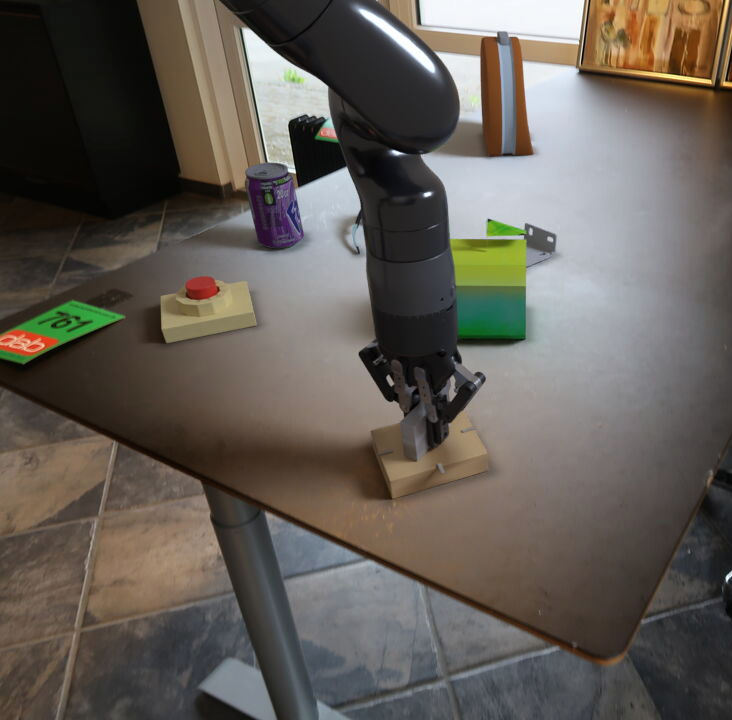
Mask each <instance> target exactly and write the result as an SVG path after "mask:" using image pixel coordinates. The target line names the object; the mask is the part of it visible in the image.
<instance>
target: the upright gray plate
mask: <svg viewBox="0 0 732 720" xmlns="http://www.w3.org/2000/svg"><path fill="white" fill-rule="evenodd" d="M426 419H427V415H426V409H425V403H422V402H420V403H419V404H418V405H417V406H416V407H415V408H414V409H413V410H412V411H411V412H410V413H409V414H408V415H407V416H406V417H405V418H404V417H403V418H402V419H401V420H399V423H400V427H401V434H402V442H403V450H404V456H405V457H407V458H410V459H412V460H415V461H418V460H419V459H420V458H421V457H422V456H423V455H424V454H425V453H426V452H427V451H428V450H429V449H430V448H431V447H430V446H428V438H427V428H426ZM449 427H450V423H449Z"/></svg>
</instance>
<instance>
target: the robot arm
mask: <svg viewBox="0 0 732 720" xmlns="http://www.w3.org/2000/svg"><path fill="white" fill-rule="evenodd" d="M218 1H219V2H220V3H221V4H222V5H223V6H224V7H225V8H226V9H227V10H229V12H230V13H232V14H233V15H234V16H235V17H236V18H237V19H238V20H239V21H240V22H242V23H243V24H244V25H245V26H246V27H247V28H248V30H250V31H251V32H253V33H254V34H255V35H256V36H257V37H258V38H259V39H260V40H261V41H262V42H264V44H265V45H267V47H269V48H270V49H271V50H272V51H274V52H275V53H276V54H277V55H278V56H279V57H281V58H283V60H285V61H287V62H288V63H290V64H291V65H293V66H294V67H297V68H298V69H300V70H302V71H304V72H306V73H308V74H310V75H311V76H312V77H315V78H316V79H317V80H319V81H320V82H322V83H323V84H324V85H325V86H327V99H328V108H329V114H330V120H331V123H332V127H333V130H334V133H335V136H336V139H337V142H338V145H339V147H340V148H339V149H340V150H341V153H342V157H343V159H344V162H345V164H346V168H347V171H348V173H349V176H350V178H351V180H352V183H353V185H354V188H355V190H356V193H357V196H358V199H359V205H360V209H361V218H362V219H361V225H362V232H363V238H364V246H365V255H366V256H365V260H366V261H365V273H366V280H367V281H366V282H367V288H368V296H369V302H370V308H371V316H372V324H373V331H374V336H375V339H373V340H372V341H371V342H369V343H368V344H367V345H365V346H364V347H363V348H362V349H360V350H359V351H358V355H357V356H358V358H359V359H360V361H361V362H362V364H363V366H364V367H365V369H366V370H367V372H368V374H369V376H370V377H371V378H372V381H374V383H375V385H376V386H377V388H378V390H379V391H380V393H381V395H382V397H383V398H384V399H385V400H386V401H387V402H388V403H393V402H396V404H398V408H399V409H400V411H402V412H403V413H402V414H403V419H404V418H405V417H406V416H407V415H408V414H409V413H410V412H411V411H412V410H413V409H414V408H415V407H416V406H417V405H418V404H419V403H420V402H422V403H425V409H426V415H427V419H426V428H427V438H428V446H430V447H433V448H437V447H438V446H439V445H441V444H442V443H443V442H444V440H445V439H446V438H447V437H448V435H449V423H451V422H452V421H453V420H454V419H455V418H456V417H457V415H458V414H459V413H460V412H461V411H463V410H464V411H465V409H466V408H467V406H468V405H469V404H470V403H471V401H472V400H473V398H474V397H475V396H476V395H477V393H478V391H479V390H480V389H481V388H482V386H483V385H484V384H485V383H486V381H487V377H486V375H485V374H484V373H483V372H481V371H476V372H475V373H472V372H471V371H470V370H469V369H468V368H466V367H465V366H464V365H463V357H462V355H461V353H460V351H459V349H458V346H457V344H458V339H457V338H458V331H459V326H458V310H457V294H456V279H455V265H454V259H453V255H452V250H451V244H450V239H451V234H450V233H451V231H450V217H449V203H448V195H447V190H446V187H445V185H444V183H443V181H442V180H441V178H439V176H438V175H437V174H436V173H435V172H434V171H433V170H432V169H431V168H430V167H429V166H428V164H426V162H425V161H424V159H423V158H422V155H427V154H431V153H434V152H436V151H438V150H439V149H441V148H443V147H444V146H445V145H446V144H448V142H449V141H450V140H451V138H452V137H453V136H454V134H455V132H456V130H457V128H458V124H459V121H460V115H461V101H460V95H459V90H458V88H457V84H456V82H455V80H454V78H453V74H451V72H450V70H449V68H448V67H447V66H446V64H445V62H444V61H443V60H442V59H441V58H440V57H439V55H438V54H437V53H436V51H434V50H433V49H432V48H431V47H430V46H429V44H427V43H426V42H425V41H424V40H423V39H422V38H421V37H420V36H419V35H418V34H416V32H414V31H413V30H412V29H411V28H410V27H409V26H407V25H406V24H405V23H404V22H403V21H402V20H401V19H400V18H398V17H397V16H396V15H395V14H394V13H393V12H392V11H390V10H389V9H388V8H387V7H386V6H385V5H384V4H382V3H381V2H380V1H378V0H218ZM388 377H390V379H391V381H392V383H393V384H392V385H391V384H390V382H389V381H388V379H387V378H388ZM452 377H453V378H454V380H455V382H454V388H453V392H454V393H455V395H454V397H452V400H451V398H450V390H451V387H452V381H451V378H452Z"/></svg>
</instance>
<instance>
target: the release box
mask: <svg viewBox="0 0 732 720" xmlns="http://www.w3.org/2000/svg"><path fill="white" fill-rule="evenodd" d="M214 280H215V283H216V286H217V290H218V293H217V294H216V295H215V296H213V297H210V298H208V299H203V300H191V299H190V298H189V297H188V294H187V290H186V287H185V285H184V286H182V287H181V288H180V289H179V290H178V291H177V292H175V293H169V294H165V295H163V294H162V295H160V327H161V328H160V329H161V332H162V334H163V338H164V342H165V343H166V344H172V343H176V342H182V341H186V340H190V339H196V338H200V337H201V338H202V337H205V336H211V335H216V334H222V333H226V332H231V331H236V330H241V329H247V328H251V327H257V326H258V325H257V320H256V315H255V311H254V306H253V302H252V297H251V294H250V290H249V289H250V288H249V286H248V281H247V280H242V281H237V282H232V283H226V282H225V281H223V280H219V279H214Z"/></svg>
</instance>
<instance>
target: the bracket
mask: <svg viewBox="0 0 732 720" xmlns="http://www.w3.org/2000/svg"><path fill="white" fill-rule="evenodd" d="M530 229H531V230H532V232H531V233H532V234H531V233H530V231H531V230H530ZM523 230H526V235H523V239H526V268H528V267H530V266H532V265H535V264H537V263H539V262H542V261H544V260H547V259H549V258H551V257H552V256H553V255H552V254H553V253H556V252H557V242H558V234H557V233H554V232H552V231H550V230H546V229H544V228H542V227H539V226H537V225H534V224H532V223H528V222H526V223H524V229H523ZM549 238H551V239H552V240H553V241H551V240H549Z"/></svg>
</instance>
